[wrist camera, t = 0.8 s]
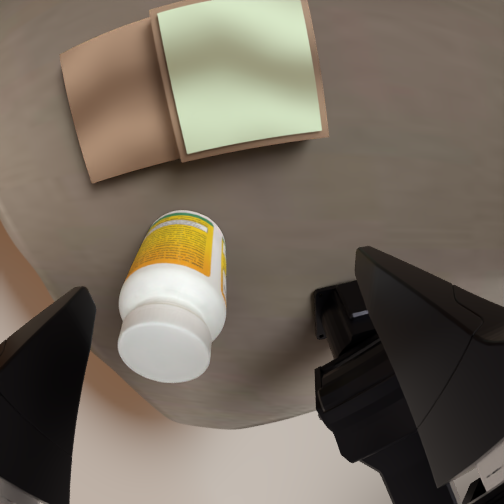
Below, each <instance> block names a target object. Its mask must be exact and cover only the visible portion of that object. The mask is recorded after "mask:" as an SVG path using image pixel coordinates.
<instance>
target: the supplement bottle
mask: <svg viewBox="0 0 504 504" xmlns="http://www.w3.org/2000/svg"><path fill="white" fill-rule="evenodd" d="M119 311H120V315H121V318H122V321H123V323H122V328H121V331H120V335H119V339H118V351H119V354H120V357H121V359H122V360H123V361H124V363H125V364H126V365H127V366H128V367H129V368H130V369H132V370H133V371H134V372H136V373H137V374H139V375H141V376H143V377H146V378H148V379H151V380H155V381H159V382H164V383H180V382H185V381H190V380H193V379H195V378H197V377H198V376H200V375H202V374H203V373H204V372H205V370H206V369H207V368H208V366H209V363H210V355H211V344H212V341H214V340H215V339H216V337H217V336H218V335H219V334H220V332H221V330H222V328H223V326H224V323H225V319H226V245H225V240H224V237H223V234H222V232H221V230H220V229H219V227H218V226H217V225H216V224H215V223H214V222H213V221H212V220H211V219H209V218H208V217H206V216H204V215H202V214H199V213H196V212H192V211H186V210H179V211H173V212H170V213H167V214H165V215H163V216H161V217H160V218H158V219H157V220H156V221H155V222H154V223H153V224H152V226H151V227H150V229H149V231H148V233H147V235H146V237H145V239H144V241H143V242H142V244H141V247H140V249H139V251H138V253H137V255H136V257H135V260H134V262H133V264H132V266H131V268H130V271H129V273H128V275H127V277H126V280H125V282H124V284H123V286H122V289H121V292H120V296H119Z"/></svg>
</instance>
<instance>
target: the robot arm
mask: <svg viewBox="0 0 504 504" xmlns="http://www.w3.org/2000/svg"><path fill="white" fill-rule="evenodd" d="M355 276H356V279H357V281H353V282H348V283H344V284H339V285H335V286H330V287H325V288H321V289H317V290H316V291H315V292H314V302H315V325H316V336H317V339H325V338H327V340H328V343H329V346H330V349H331V351H332V354H333V357H334V360H332V361H331V362H329V363H327V364H325V365H324V366H322V367H321V366H320V367H318V368H316V369H315V394H316V410H317V412H318V416H319V418H320V420H322V421H323V422H324V424H325V425H326V426H327V428H328V429H330V430H331V431H332V432H333V434H334V436H335V438H336V442H337V444H338V447H339V450H340V453H341V455H342V456H343V457H345V458H346V459H347V460H348V461H349V462H351V463H354V462H357V461H360V462H362V463H364V464H365V465H367V466H369V467H371V468H372V469H374V470H376V471H378V472H379V473H380V475H381V477H382V479H383V482H384V484H385V486H386V488H387V491H388V493H389V496H390V498H391V500H392V503H393V504H504V307H502V306H500V305H498V304H495V303H493V302H490V301H488V300H486V299H483V298H481V297H479V296H477V295H474V294H472V293H470V292H468V291H466V290H464V289H462V288H460V287H458V286H456V285H452V284H451V283H449V282H447V281H445V280H443V279H441V278H439V277H437V276H435V275H432V274H430V273H428V272H426V271H424V270H422V269H420V268H417V267H415V266H413V265H411V264H409V263H406V262H404V261H402V260H400V259H398V258H395V257H393V256H391V255H389V254H386V253H384V252H382V251H380V250H377V249H375V248H373V247H370V246H365V247H359V248H358V249H357V250H356V260H355ZM319 294H321V295H319ZM95 315H96V306H95V303H94V301H93V299H92V297H91V295H90V293H89V291H88V289H87V288H86V287H84V286H81V287H75V288H73V289H72V290H70V291H69V292H68V293H66V294H65V295H64V296H62V297H61V298H59V299H58V300H57V301H55V302H54V303H53V304H51V305H50V306H49V307H47V308H46V309H45V310H43V311H42V312H41V313H39V314H38V315H37V316H35V317H34V318H33V319H31V320H30V321H29V322H28V323H26V324H25V325H24V326H22V327H21V328H20V329H19V330H17V331H16V332H15V333H13V334H12V335H11V336H10V337H9V338H8V339H7V340H5V341H4V342H2V343H1V344H0V504H40V502H41V503H43V504H69V502H70V501H69V499H70V479H71V465H72V457H71V456H72V452H73V443H74V435H75V427H76V420H77V414H78V407H79V402H80V396H81V391H82V385H83V380H84V375H85V370H86V366H87V361H88V357H89V352H90V348H91V341H92V334H93V328H94V321H95ZM476 467H477V470H478V472H479V475H480V478H478V479H477V480H475V481H474V482H472V483H471V484H470V486H469V488H468V491H467V493H466V495H465V498H464V500H463V502H461V500H460V497H459V494H458V492H457V489H456V487H455V484H454V482H453V480H455V479H457V478H458V477H460V476H462V475H464V474H466V473H467V472H469V471H471V470H473V469H474V468H476Z"/></svg>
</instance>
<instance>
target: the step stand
mask: <svg viewBox="0 0 504 504" xmlns="http://www.w3.org/2000/svg"><path fill="white" fill-rule="evenodd" d="M149 14H150V17H148V18H145V19H142V20H139V21H136V22H133V23H130V24H128V25H125V26H122V27H120V28H117V29H114V30H112V31H109V32H107V33H104V34H102V35H100V36H97V37H95V38H93V39H90V40H88V41H86V42H84V43H82V44H80V45H77V46H75V47H73V48H71V49H69V50H67V51H65V52H63V53H61V54H60V61H61V67H62V72H63V77H64V82H65V87H66V92H67V96H68V101H69V105H70V109H71V113H72V117H73V121H74V125H75V129H76V133H77V136H78V140H79V144H80V147H81V150H82V154H83V157H84V160H85V164H86V167H87V170H88V173H89V176H90V179H91V182H92V184H93V183H96V182H99V181H102V180H105V179H108V178H111V177H114V176H118V175H121V174H124V173H128V172H131V171H135V170H138V169H142V168H145V167H149V166H153V165H156V164H160V163H164V162H168V161H172V160H176V159H180V158H181V162H182V163H183V162H187V161H191V160H196V159H200V158H205V157H209V156H214V155H219V154H224V153H229V152H234V151H239V150H244V149H250V148H256V147H261V146H267V145H274V144H280V143H287V142H293V141H301V140H308V139H316V138H325V137H329V132H328V123H327V114H326V106H325V98H324V91H323V84H322V77H321V70H320V64H319V58H318V52H317V46H316V41H315V35H314V30H313V25H312V20H311V15H310V11H309V6H308V1H307V0H184V1H180V2H176V3H172V4H168V5H165V6H161V7H158V8H154V9H151V10H149Z"/></svg>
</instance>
